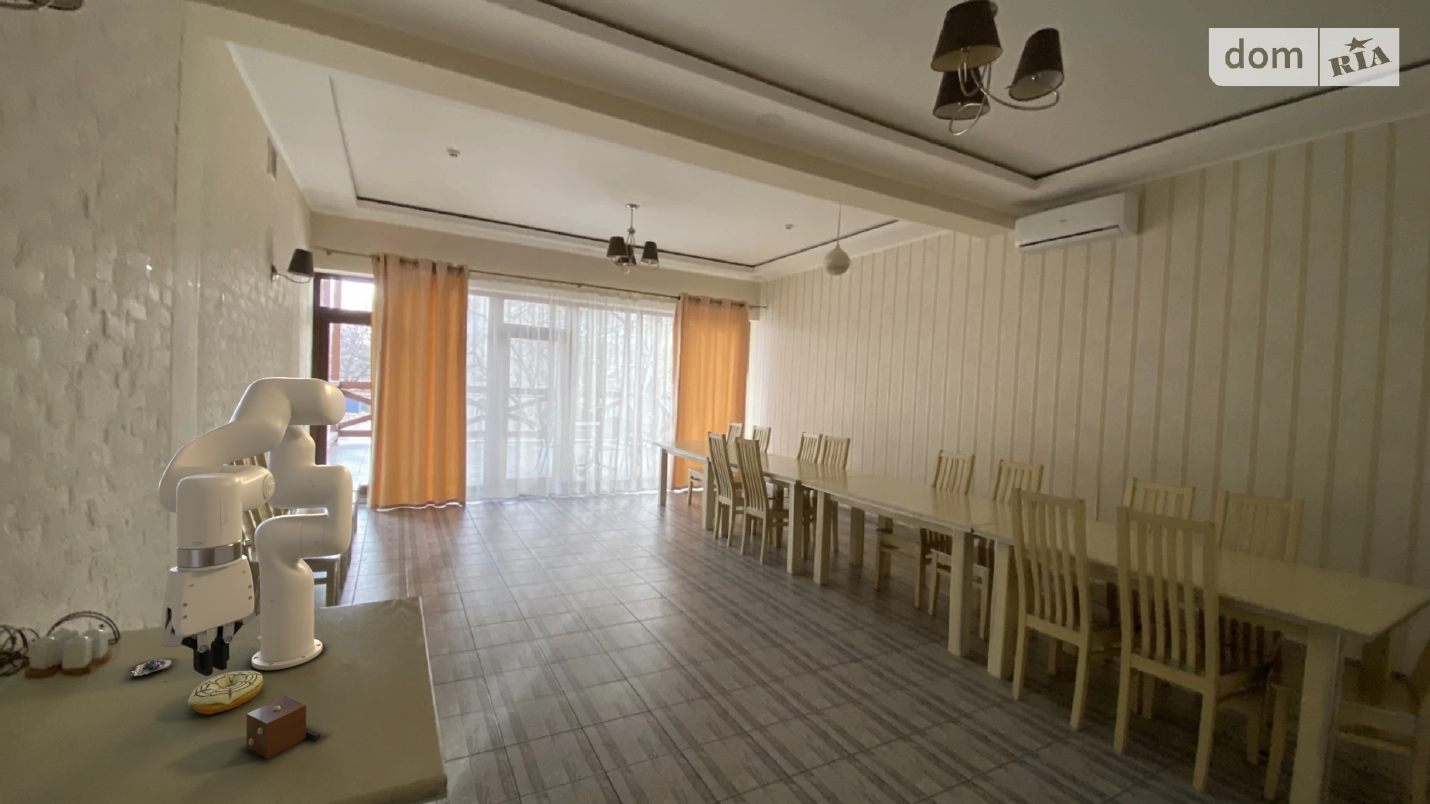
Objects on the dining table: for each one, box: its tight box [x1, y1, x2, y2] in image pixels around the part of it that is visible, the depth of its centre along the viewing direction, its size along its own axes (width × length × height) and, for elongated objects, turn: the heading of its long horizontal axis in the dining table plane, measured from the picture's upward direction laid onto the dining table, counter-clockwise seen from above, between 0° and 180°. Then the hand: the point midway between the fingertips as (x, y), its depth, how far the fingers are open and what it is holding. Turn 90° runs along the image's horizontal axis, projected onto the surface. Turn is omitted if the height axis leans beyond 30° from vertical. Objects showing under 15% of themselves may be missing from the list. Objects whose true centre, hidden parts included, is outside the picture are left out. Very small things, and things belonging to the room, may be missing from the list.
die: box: [246, 695, 307, 759], centre depth 96 cm, size 6×6×6 cm
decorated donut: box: [187, 670, 264, 715], centre depth 108 cm, size 10×11×4 cm
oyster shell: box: [130, 658, 173, 677], centre depth 119 cm, size 7×8×2 cm
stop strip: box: [306, 727, 321, 741], centre depth 100 cm, size 10×1×1 cm, turn 66°
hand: (211, 670), depth 88 cm, fingers closed
